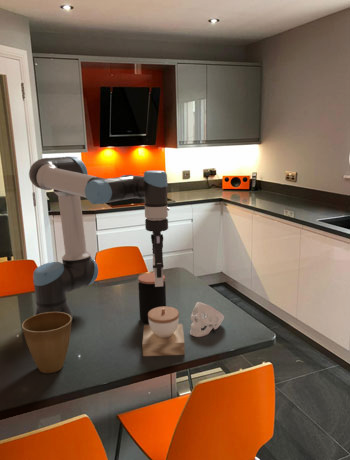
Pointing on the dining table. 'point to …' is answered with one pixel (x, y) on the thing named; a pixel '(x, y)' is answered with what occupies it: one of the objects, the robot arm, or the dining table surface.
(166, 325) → the lidded jar
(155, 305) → the coffee jar
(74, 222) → the robot arm
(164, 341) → the beech block
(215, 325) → the skull bowl
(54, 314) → the plant pot
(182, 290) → the dining table surface
